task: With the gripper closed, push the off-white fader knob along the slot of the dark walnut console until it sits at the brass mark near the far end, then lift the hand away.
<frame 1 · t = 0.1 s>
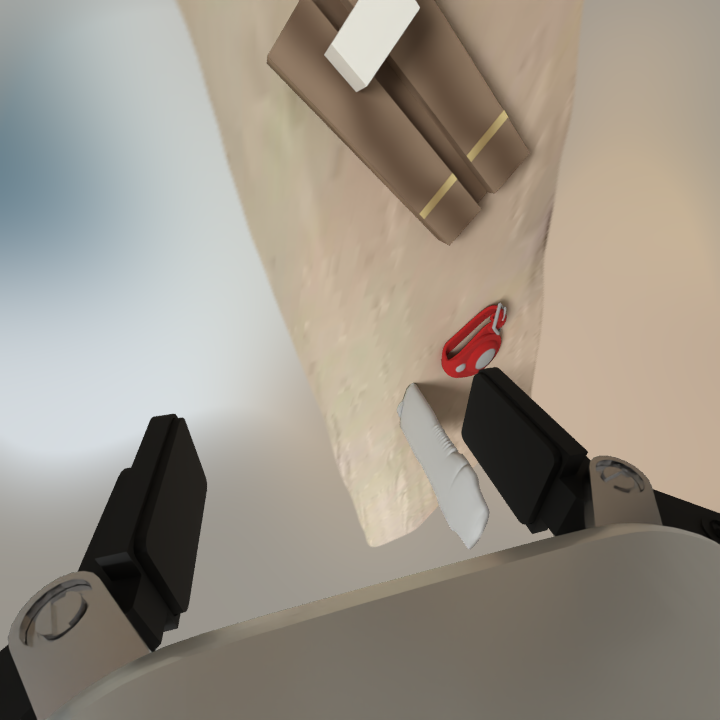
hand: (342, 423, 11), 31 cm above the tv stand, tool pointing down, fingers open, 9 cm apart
tall pale column: (408, 406, 55), on the tv stand
fader knob: (366, 35, 26), point 4 cm above the tv stand, slide at -7.0 cm
fader console: (406, 113, 34), on the tv stand
tracker holder: (474, 338, 52), on the tv stand
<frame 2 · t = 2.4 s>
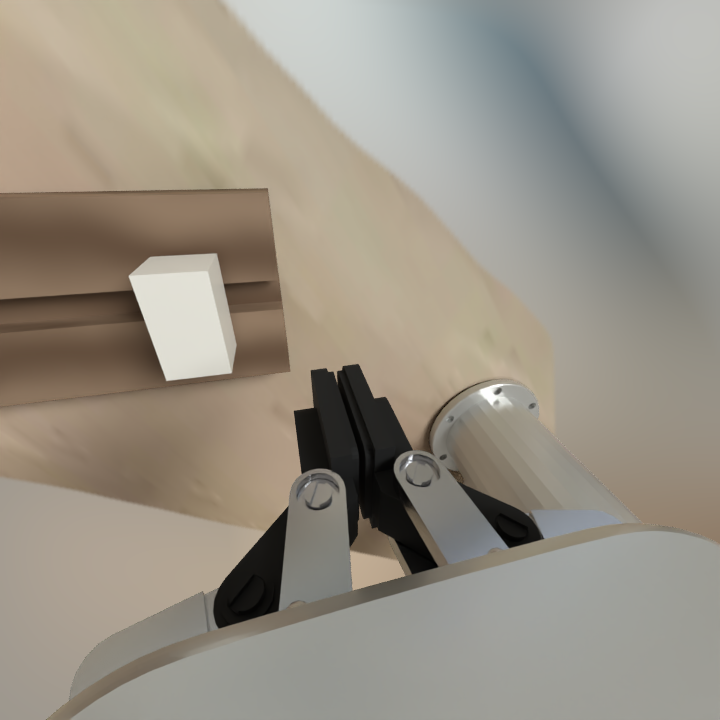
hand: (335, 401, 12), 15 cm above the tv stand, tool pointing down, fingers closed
fader knob: (194, 310, 20), point 4 cm above the tv stand, slide at -7.0 cm
fader console: (93, 293, 22), on the tv stand
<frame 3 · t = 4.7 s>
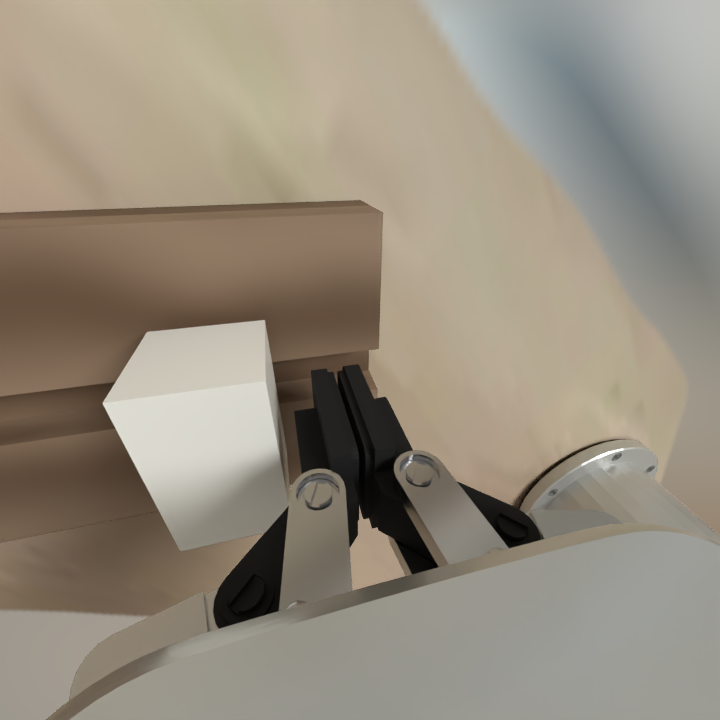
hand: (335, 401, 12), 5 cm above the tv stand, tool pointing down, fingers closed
fader knob: (225, 415, 12), point 4 cm above the tv stand, slide at -6.1 cm, touching gripper
fader console: (79, 369, 14), on the tv stand
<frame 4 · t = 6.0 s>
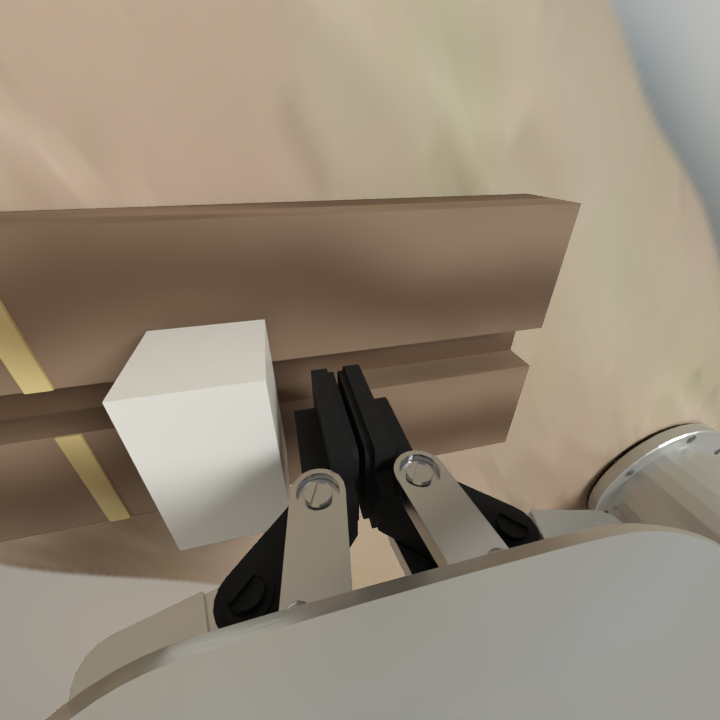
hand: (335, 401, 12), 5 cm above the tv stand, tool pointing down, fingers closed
fader knob: (225, 414, 12), point 4 cm above the tv stand, slide at 1.3 cm, touching gripper
fader console: (264, 346, 15), on the tv stand
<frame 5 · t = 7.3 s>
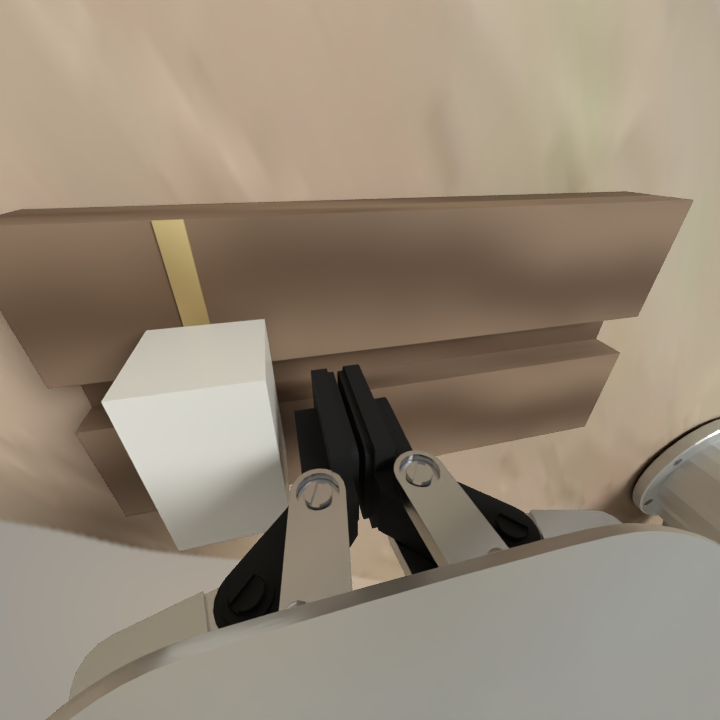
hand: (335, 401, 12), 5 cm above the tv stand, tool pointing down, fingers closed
fader knob: (225, 414, 12), point 4 cm above the tv stand, slide at 6.6 cm, touching gripper
fader console: (374, 334, 17), on the tv stand
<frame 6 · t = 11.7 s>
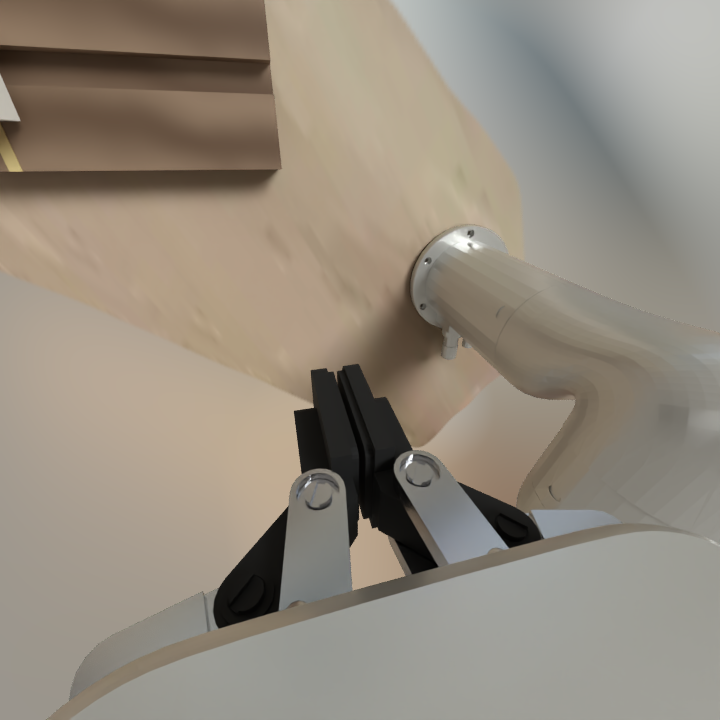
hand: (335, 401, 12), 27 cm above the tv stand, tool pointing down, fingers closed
fader console: (107, 76, 25), on the tv stand
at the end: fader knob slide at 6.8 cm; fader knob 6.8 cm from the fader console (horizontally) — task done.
